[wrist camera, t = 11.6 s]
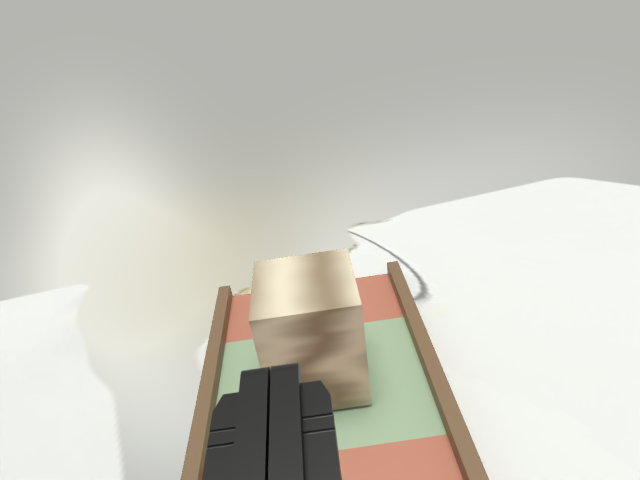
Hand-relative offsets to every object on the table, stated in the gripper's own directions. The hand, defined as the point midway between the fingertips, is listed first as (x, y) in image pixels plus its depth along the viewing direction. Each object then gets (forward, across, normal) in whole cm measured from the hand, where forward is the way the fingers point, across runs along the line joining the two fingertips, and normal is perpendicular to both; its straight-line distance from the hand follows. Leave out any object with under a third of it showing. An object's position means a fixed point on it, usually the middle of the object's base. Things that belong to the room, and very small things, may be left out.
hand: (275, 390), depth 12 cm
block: (+21, 0, +22) cm, 31 cm away
